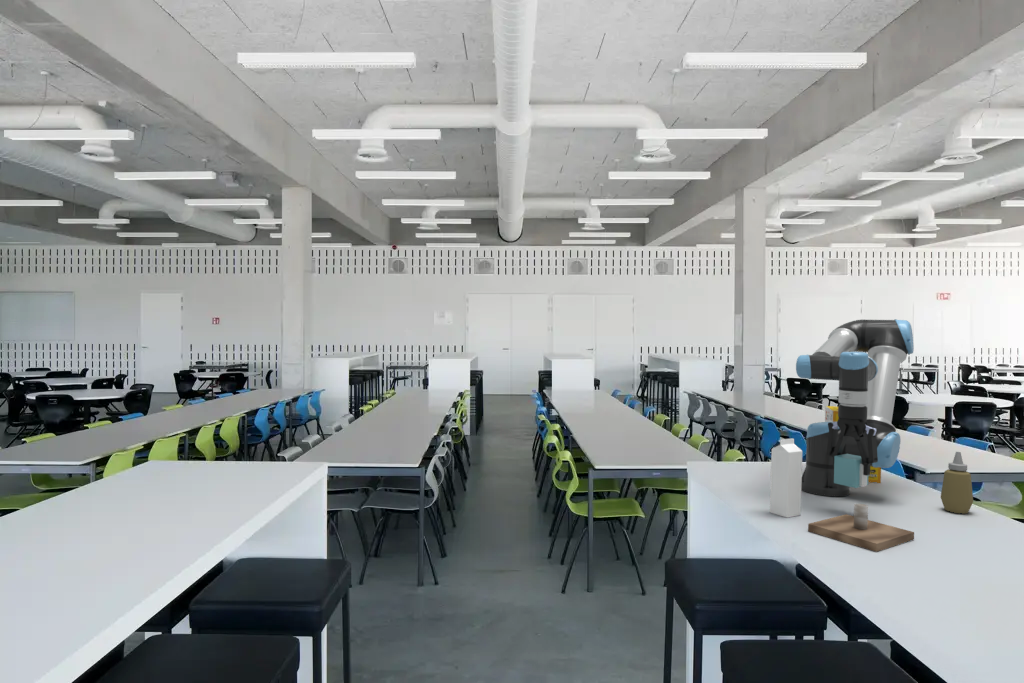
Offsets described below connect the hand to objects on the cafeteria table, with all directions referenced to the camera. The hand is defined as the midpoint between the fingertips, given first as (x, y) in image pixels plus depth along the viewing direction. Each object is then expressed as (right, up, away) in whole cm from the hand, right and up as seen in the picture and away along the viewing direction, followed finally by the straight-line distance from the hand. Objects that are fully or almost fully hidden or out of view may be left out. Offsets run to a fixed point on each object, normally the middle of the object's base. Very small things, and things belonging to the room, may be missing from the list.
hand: (850, 482), depth 186 cm
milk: (-19, -9, 0) cm, 21 cm away
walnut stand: (-8, -10, -19) cm, 23 cm away
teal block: (0, 0, 0) cm, 0 cm away
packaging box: (+27, -9, +50) cm, 58 cm away
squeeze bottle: (+35, -10, +6) cm, 37 cm away
